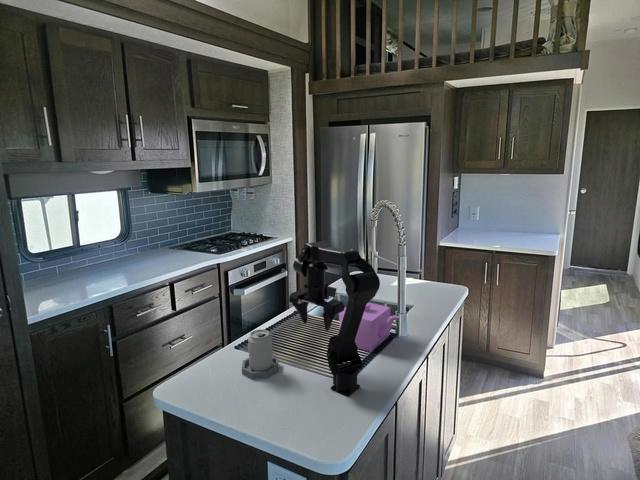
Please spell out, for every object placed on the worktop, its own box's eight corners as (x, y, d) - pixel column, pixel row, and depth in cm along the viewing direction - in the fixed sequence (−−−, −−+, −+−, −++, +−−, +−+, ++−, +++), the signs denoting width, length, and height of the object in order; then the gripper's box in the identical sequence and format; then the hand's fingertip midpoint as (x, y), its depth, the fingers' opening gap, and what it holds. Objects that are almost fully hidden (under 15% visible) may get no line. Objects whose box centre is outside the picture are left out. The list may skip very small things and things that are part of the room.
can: (262, 375, 132) (260, 340, 129) (244, 369, 136) (242, 334, 133) (277, 365, 138) (276, 331, 135) (260, 359, 142) (258, 326, 139)
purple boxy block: (390, 358, 143) (391, 319, 140) (328, 340, 157) (328, 304, 154) (407, 341, 156) (409, 305, 152) (348, 325, 169) (348, 292, 166)
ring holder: (286, 367, 138) (285, 361, 137) (259, 382, 129) (259, 376, 128) (261, 356, 145) (261, 351, 144) (235, 370, 136) (234, 364, 136)
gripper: (354, 280, 134) (354, 326, 137) (309, 269, 145) (310, 312, 149) (333, 289, 126) (333, 338, 129) (287, 277, 137) (288, 322, 140)
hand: (316, 326), depth 137 cm, fingers open, 9 cm apart
